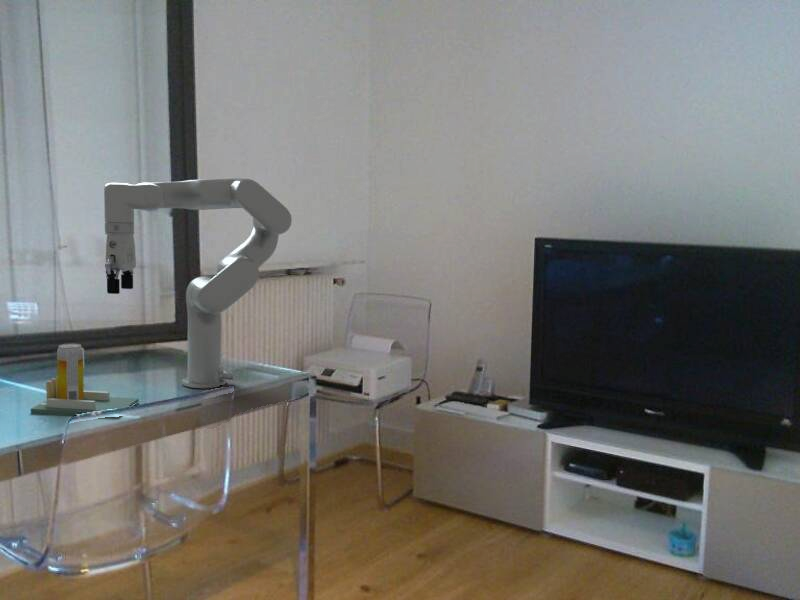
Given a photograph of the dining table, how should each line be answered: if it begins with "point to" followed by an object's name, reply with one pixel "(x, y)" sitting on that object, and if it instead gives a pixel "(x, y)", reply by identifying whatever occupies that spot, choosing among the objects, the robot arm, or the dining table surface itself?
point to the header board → (78, 402)
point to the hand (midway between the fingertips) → (120, 291)
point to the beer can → (70, 371)
